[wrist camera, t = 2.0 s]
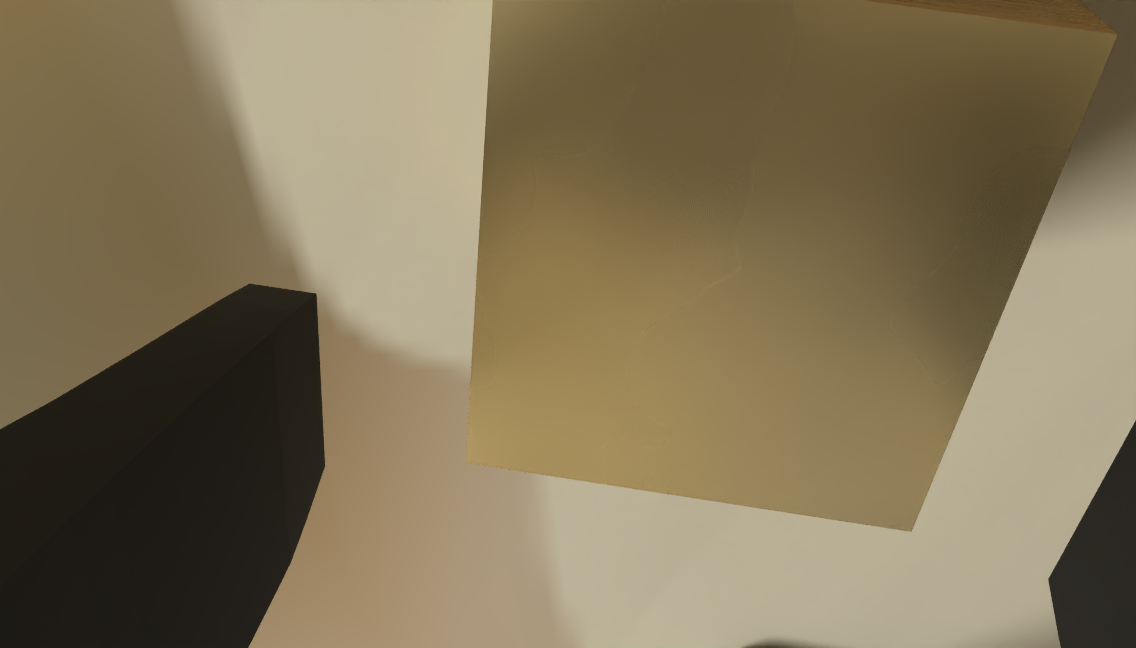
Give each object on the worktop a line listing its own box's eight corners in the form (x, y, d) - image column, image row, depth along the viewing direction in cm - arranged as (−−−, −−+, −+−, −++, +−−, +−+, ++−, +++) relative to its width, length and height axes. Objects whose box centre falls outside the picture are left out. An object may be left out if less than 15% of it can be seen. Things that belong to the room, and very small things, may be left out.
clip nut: (848, 277, 14) (911, 531, 10) (535, 231, 14) (465, 463, 10) (963, -99, 11) (1117, 35, 7) (570, -150, 11) (496, -49, 7)
